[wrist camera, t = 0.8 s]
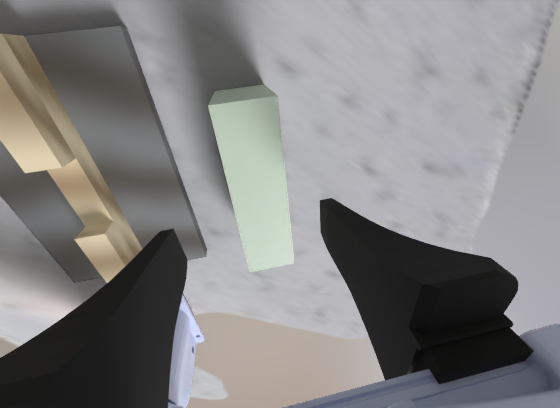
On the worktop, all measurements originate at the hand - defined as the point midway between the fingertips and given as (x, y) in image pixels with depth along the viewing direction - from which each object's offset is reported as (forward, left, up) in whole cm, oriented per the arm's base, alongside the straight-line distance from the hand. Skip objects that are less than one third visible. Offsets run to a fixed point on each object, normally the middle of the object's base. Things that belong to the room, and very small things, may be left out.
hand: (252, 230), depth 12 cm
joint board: (0, +11, -9) cm, 15 cm away
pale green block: (-1, -1, -10) cm, 10 cm away
